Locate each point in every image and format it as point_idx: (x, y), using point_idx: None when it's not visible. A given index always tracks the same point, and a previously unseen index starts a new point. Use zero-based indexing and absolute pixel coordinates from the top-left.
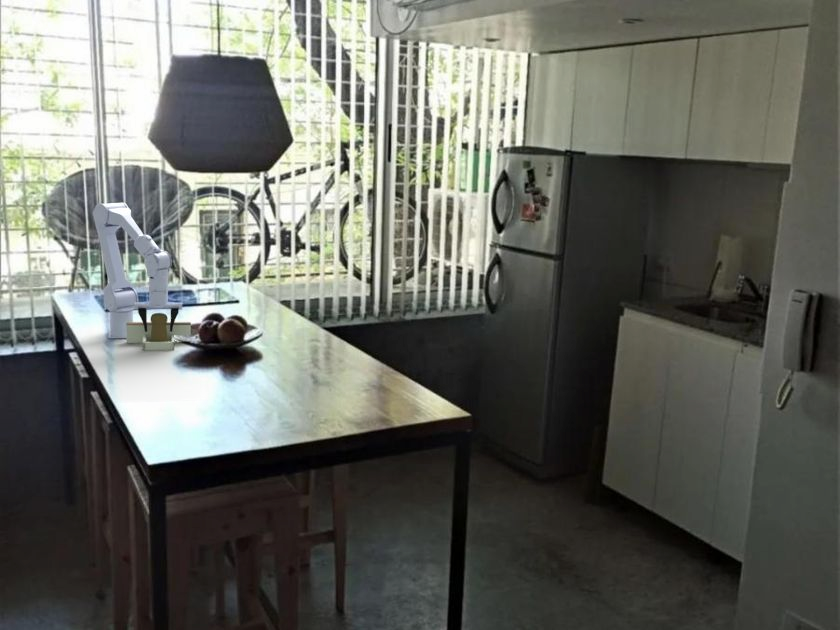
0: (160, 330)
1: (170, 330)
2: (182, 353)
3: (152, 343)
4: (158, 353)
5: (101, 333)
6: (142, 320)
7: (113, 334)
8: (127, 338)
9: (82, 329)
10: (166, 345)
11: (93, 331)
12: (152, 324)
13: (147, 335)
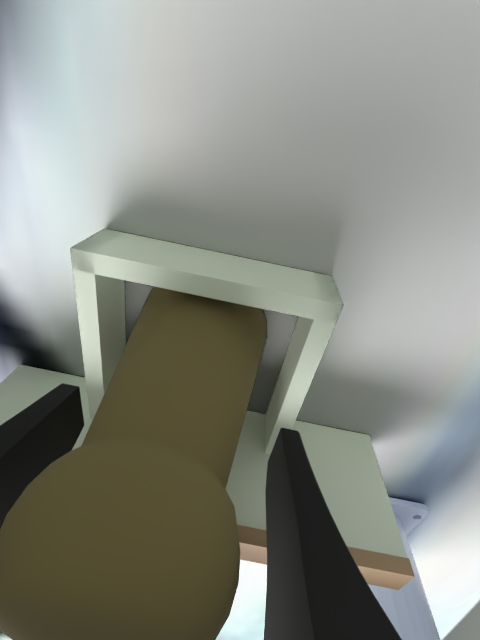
0: (155, 378)
1: (67, 392)
2: (26, 91)
3: (259, 282)
4: (232, 148)
5: (413, 555)
6: (351, 561)
7: (401, 525)
8: (371, 457)
9: (455, 596)
10: (148, 252)
11: (429, 576)
12: (224, 484)
13: (256, 450)
